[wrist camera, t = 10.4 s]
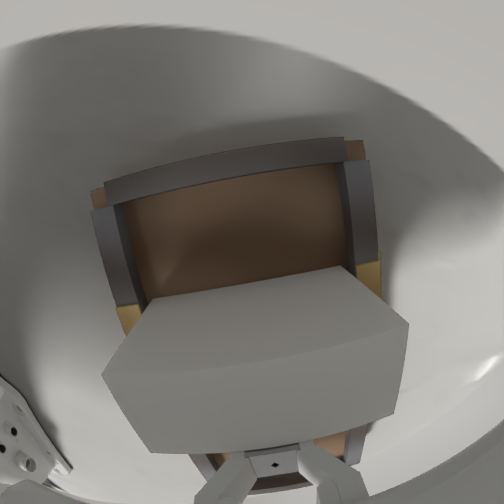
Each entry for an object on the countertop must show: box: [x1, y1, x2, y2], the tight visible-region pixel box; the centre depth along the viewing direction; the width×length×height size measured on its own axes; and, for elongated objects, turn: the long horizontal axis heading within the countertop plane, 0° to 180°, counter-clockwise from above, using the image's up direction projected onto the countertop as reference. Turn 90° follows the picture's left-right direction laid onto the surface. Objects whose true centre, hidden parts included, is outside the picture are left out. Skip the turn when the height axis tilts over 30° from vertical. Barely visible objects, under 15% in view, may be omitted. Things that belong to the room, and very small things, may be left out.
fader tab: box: [101, 265, 409, 454], centre depth 10 cm, size 4×9×6 cm, turn 100°
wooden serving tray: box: [91, 137, 381, 495], centre depth 14 cm, size 24×13×4 cm, turn 10°
